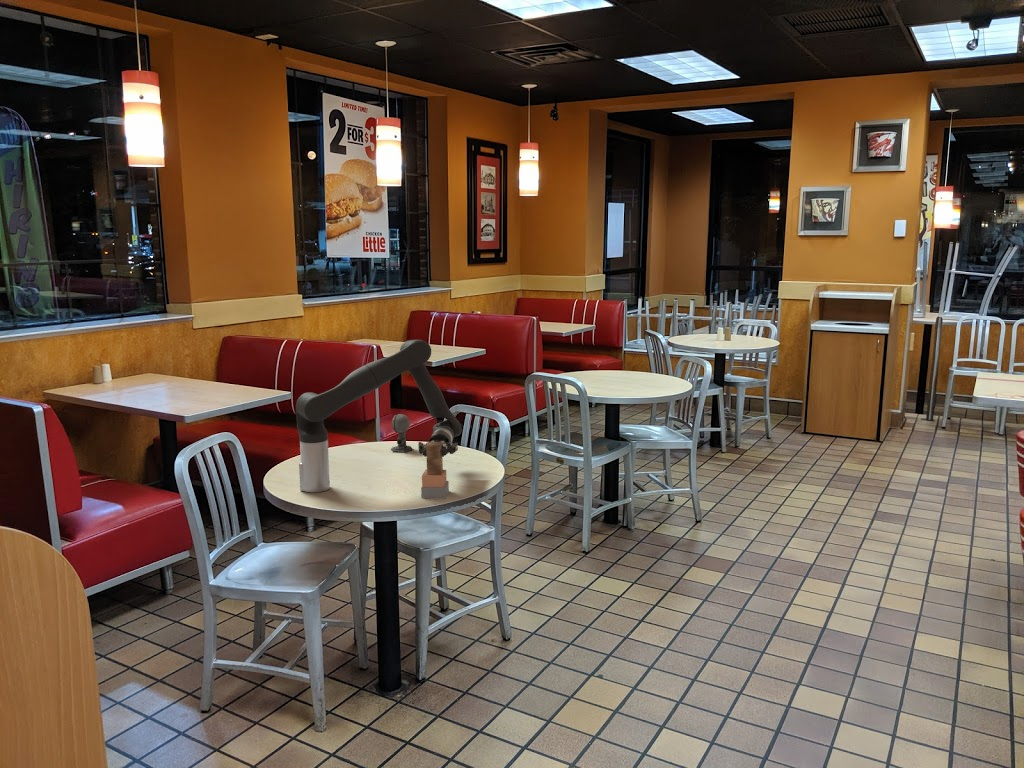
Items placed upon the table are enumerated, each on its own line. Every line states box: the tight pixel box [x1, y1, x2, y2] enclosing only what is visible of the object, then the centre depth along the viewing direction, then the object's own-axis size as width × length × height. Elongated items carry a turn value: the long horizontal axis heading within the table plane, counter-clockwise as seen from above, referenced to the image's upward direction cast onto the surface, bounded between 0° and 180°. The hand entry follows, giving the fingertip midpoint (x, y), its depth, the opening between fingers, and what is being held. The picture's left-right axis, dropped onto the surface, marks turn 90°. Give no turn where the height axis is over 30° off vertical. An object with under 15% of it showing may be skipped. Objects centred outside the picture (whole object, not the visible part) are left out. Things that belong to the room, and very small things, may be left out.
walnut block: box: [426, 441, 444, 475], centre depth 257 cm, size 5×5×10 cm
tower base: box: [420, 480, 450, 499], centre depth 259 cm, size 8×8×4 cm
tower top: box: [421, 468, 448, 487], centre depth 258 cm, size 7×7×4 cm
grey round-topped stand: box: [390, 413, 415, 454], centre depth 314 cm, size 9×10×15 cm
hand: (433, 453), depth 254 cm, fingers open, 5 cm apart
